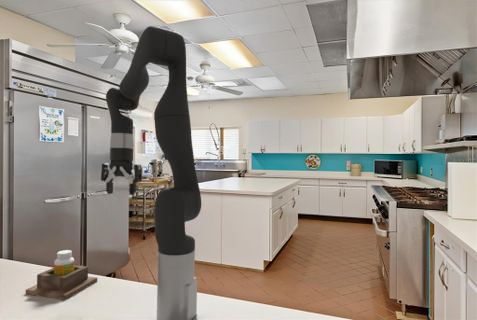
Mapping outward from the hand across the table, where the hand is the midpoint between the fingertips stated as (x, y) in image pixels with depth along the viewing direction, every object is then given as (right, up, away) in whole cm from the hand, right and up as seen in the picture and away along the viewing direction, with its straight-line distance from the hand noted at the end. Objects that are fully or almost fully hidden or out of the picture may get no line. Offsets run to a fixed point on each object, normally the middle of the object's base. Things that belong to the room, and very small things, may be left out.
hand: (121, 194), depth 101 cm
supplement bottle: (-14, -27, -10) cm, 32 cm away
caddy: (-14, -28, -10) cm, 33 cm away
